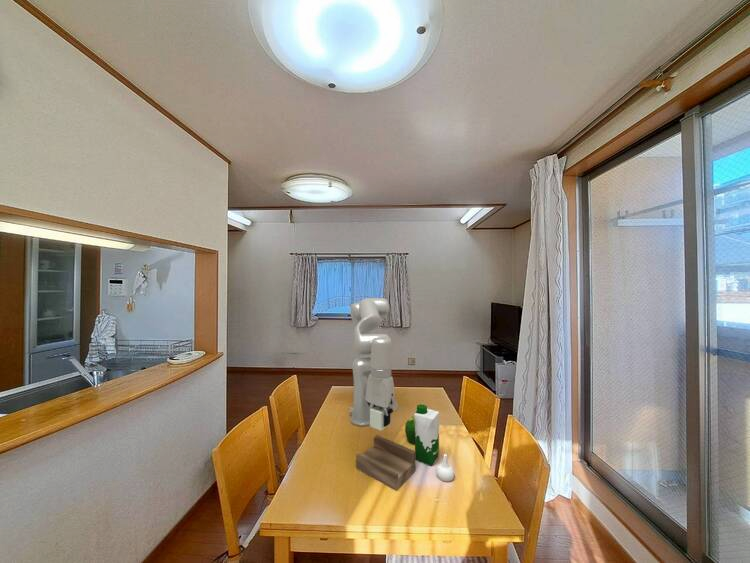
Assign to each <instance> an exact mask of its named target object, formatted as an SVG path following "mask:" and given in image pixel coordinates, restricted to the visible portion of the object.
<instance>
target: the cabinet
mask: <svg viewBox="0 0 750 563" xmlns="http://www.w3.org/2000/svg"><path fill="white" fill-rule="evenodd" d="M387 409H388V408H387ZM384 415H385V412H384V408H382V407H379V406H375V407H373V408H371V409H370V425H369V427H371V428H374V429H376V430H379V431H383V430H384V429H385V428H388V426H390V425H391V423H392V422H391V419H392V417H391V416H392V415H391V416H390V424H389V425H388V426H386V427H384Z"/></svg>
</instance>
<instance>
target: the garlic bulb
mask: <svg viewBox="0 0 750 563" xmlns="http://www.w3.org/2000/svg"><path fill="white" fill-rule="evenodd" d="M435 472H436V476H437V478H438V479H439V480H440V481H443V482H451V481H453V480H454V478H455V471H454V469H453V467H452V466H451V465H450V464H449V462H448V455H447V453H444V454H443V458H442V463H440V464H438V466H437V467H436V470H435Z"/></svg>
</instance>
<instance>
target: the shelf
mask: <svg viewBox="0 0 750 563" xmlns="http://www.w3.org/2000/svg"><path fill="white" fill-rule="evenodd" d="M416 463H417V462H416V451H415V449H414V450H413V449H411V448H408V447H407V446H404V445H402V444H399V443H396V442H394V441H392V440H390V439H387V438H385V437H383V436H381V435H377V434H376V435H375V436H374V437H373V446H372V447H370V448H369V449H368V450H366V451H365V452H364V453H362V454H359V453H356V455H355V469H356V470H358V471H359V472H361V473H362V474H365V475H367V476H369V477H371V478H372V479H374V480H375V481H377V482H378V483H381V484H383V485H385V486H386V487H389V488H390V489H392V490H394V491H398V490H399V489H400V487H402V486H403V484H405V482H406V481H407V480H408V479H409V478H410V477H411V476H412V475H413V474H414V473H415V472H416V466H417V465H416Z"/></svg>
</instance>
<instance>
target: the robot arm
mask: <svg viewBox="0 0 750 563" xmlns="http://www.w3.org/2000/svg"><path fill="white" fill-rule="evenodd" d="M390 308H391V307H390V303H389V301H388V299H386V298H384V297H367V298H363V299H362V300H360V302H355V303H354V302H353V303H352V304H351V305H350V309H349V310H350V311H349V312H350V317H351V321H352V323H353V327H354V330H353V339H354V340H353V341H354V348H355V349H354V350H355V353H356V354H358V355H367V356H365V357H357V358H355V359H353V361H352V364H351V365H352V367H351V368H352V377H353V406H351V407H350V408H349V410H348V413H350V414H351V415H350V418H349V419H350V423H352V424H353V425H355V426H357V427H358V426H360V427H366V426H370V409H371V408H373V407H375V406H379V407H382V408H384V412H385V415H384V427H386V426H387V427H388V425H389V424H390V416H392V414H393V412H394V411H396V410H397V409H399V404H398V403H397V402H396V401H397V400H396V399H395V398H396V396H395V384H394V377H393V376H392V346H393V344H392V338H390V336H389V335H388V334H385V333H372V331H374V330H376V329H378V327H380V325H381V322H382V319H383V318H385V317H387V316H388V315H389V314H390ZM368 355H370V356H368ZM387 408H388V409H387ZM390 425H391V424H390ZM390 425H389V426H390ZM387 427H386V428H387Z"/></svg>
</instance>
